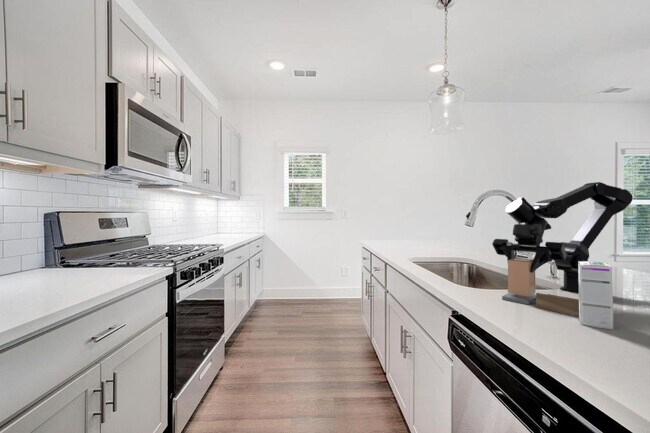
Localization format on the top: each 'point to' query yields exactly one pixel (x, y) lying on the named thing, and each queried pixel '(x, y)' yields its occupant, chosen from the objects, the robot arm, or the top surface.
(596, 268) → the syrup box
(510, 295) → the slate tile
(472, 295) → the top surface
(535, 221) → the robot arm
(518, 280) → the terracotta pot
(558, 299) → the frame
